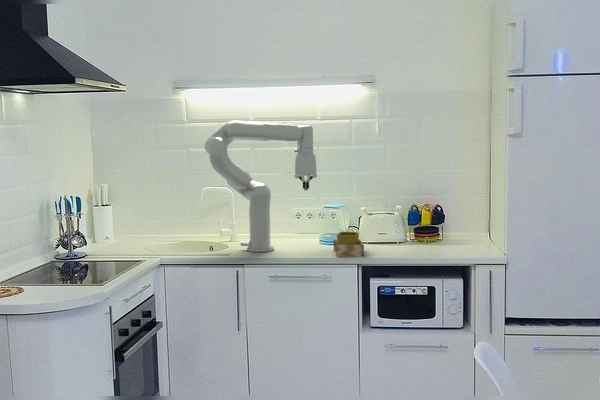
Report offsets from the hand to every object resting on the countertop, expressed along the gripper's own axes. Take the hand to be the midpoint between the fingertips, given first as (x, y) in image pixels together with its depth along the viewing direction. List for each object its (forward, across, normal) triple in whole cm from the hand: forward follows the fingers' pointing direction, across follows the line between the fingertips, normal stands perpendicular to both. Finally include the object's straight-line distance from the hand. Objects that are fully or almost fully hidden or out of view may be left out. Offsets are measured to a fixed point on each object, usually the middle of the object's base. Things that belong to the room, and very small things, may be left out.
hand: (306, 190), depth 310 cm
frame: (+27, +18, -21) cm, 39 cm away
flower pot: (+27, +18, -20) cm, 38 cm away
